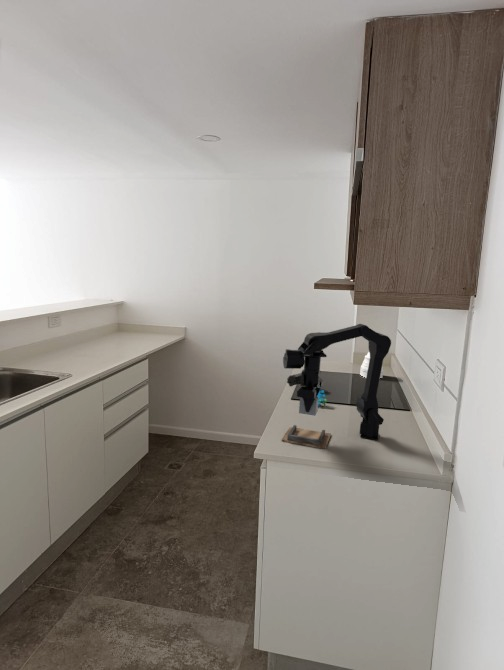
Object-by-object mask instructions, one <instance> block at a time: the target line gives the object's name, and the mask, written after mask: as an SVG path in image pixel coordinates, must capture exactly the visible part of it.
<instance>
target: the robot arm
mask: <svg viewBox="0 0 504 670" xmlns="http://www.w3.org/2000/svg"><path fill="white" fill-rule="evenodd" d="M360 337H361V338H363V339H364V340H367V342H368V352H370V361H369V366H368V372H367V377H366V378H365V383H364V384H365V385H364V389H363V392H362V394H361V396H360V395H357V396H356V402H355V405H354V406H355V407H356V411H357V412H358V414H360V417H361V418H362V421H360V425H359V436H360V438H363V439H368V440H369V439H370V440H375V441H378V440H379V435H380V433H379V431H380V426H381V425H383V423H384V418H383V417H382V416H381V415H380V413H379V401H378V397H377V395H378V389H379V384H380V380H381V379H380V374H381V369H382V367H383V363H384V358H386V357H387V355H389V351H390V349H391V346H392V339H391V338H390V337H389V336H388V335H386V334H384V333H380V332H377V331H375V330H373V329H372V328H370V327H369V326H368V325H365V324H363V323H359V324H358V323H357V324H356V325H351V326H348V327H344V328H341V329H337V330H332V331H329V332H320V331H319V332H310V333H307V334H306V335H305V337H304V339H303V342H302V343H301V344H300V346H298V348H297V349H289V348H288V349H285V352H284V355H283V357H282V364H283V369H289V370H291V369H292V370H293V369H294V370H295V369H296V370H298V369H302V368H303V371H302V372H300V373H296V374H291V375H289V376H288V377H287V381H286V383H287V384H288V386H289V387H293V386H297V385H300V387H299V388H298V389H297V390H296V397H298V398H301V397H302V398H303V400H304V405H305V410H306V412H309V411H310V409H311V407H312V404H313V402H314V400H315V398H316V397H317V396H318V394H319V392H320V391H322V387H323V386H324V385H323V384H324V380H323V379H322V378H321V377H320V375H321V370H320V369H321V361H322V360H321V359H322V358H327V357H328V356H327V354H326V353H325V352H324V349H327V348H328V347H329V346H331V345H333V344H337V343H340V342H344V341H348V340H352V339H355V338H360ZM304 386H305V387H304ZM317 387H318V388H317Z"/></svg>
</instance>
